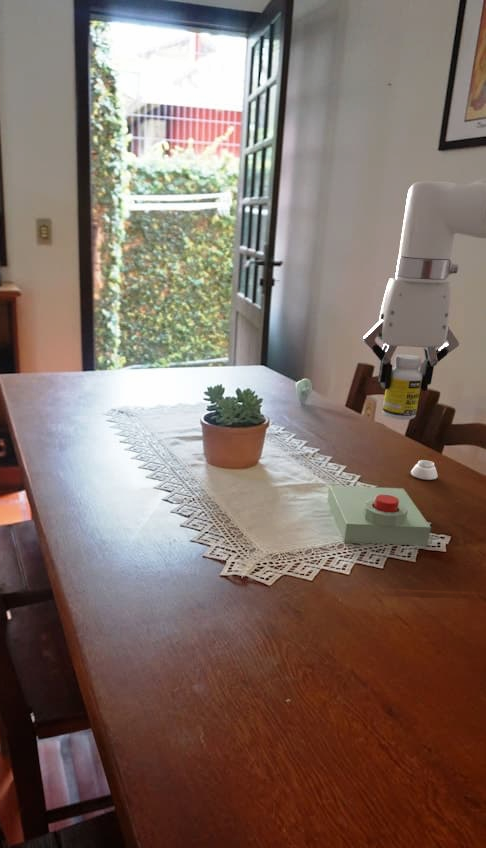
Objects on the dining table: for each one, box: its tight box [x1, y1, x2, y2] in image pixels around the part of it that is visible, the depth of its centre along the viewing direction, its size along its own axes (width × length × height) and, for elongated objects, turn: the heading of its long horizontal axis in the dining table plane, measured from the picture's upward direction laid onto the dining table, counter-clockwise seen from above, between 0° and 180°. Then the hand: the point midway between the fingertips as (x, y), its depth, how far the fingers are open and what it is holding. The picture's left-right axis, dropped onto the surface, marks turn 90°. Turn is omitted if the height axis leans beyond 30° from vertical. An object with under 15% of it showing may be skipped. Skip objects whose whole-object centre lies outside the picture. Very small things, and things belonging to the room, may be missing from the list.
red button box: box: [327, 484, 432, 546], centre depth 112 cm, size 13×16×5 cm
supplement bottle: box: [381, 354, 423, 421], centre depth 111 cm, size 5×5×10 cm
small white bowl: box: [410, 459, 439, 481], centre depth 134 cm, size 5×3×5 cm
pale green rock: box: [294, 378, 314, 404], centre depth 182 cm, size 8×4×7 cm, turn 14°
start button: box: [374, 495, 399, 513], centre depth 106 cm, size 4×4×2 cm
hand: (403, 386), depth 111 cm, fingers closed on supplement bottle, 5 cm apart
